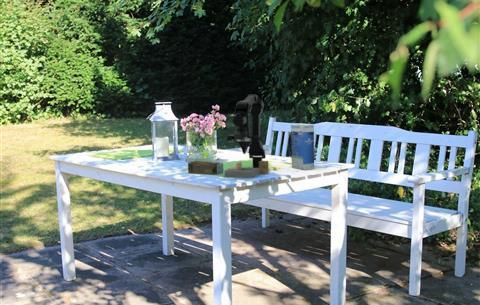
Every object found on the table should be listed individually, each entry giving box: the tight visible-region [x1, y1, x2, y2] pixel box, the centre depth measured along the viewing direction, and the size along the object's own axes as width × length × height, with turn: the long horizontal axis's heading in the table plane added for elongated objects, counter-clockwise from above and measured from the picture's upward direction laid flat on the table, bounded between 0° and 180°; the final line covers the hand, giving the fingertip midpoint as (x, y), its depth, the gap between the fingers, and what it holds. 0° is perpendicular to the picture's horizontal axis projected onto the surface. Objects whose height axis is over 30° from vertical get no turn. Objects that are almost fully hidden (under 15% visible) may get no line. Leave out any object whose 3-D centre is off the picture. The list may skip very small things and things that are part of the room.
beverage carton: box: [187, 160, 225, 176], centre depth 322 cm, size 8×19×7 cm, turn 63°
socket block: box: [223, 167, 261, 179], centre depth 310 cm, size 12×16×4 cm
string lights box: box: [290, 122, 315, 171], centre depth 331 cm, size 13×8×26 cm, turn 30°
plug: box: [259, 160, 269, 175], centre depth 315 cm, size 4×4×7 cm
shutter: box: [227, 161, 243, 170], centre depth 311 cm, size 6×6×4 cm
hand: (244, 153), depth 309 cm, fingers closed
